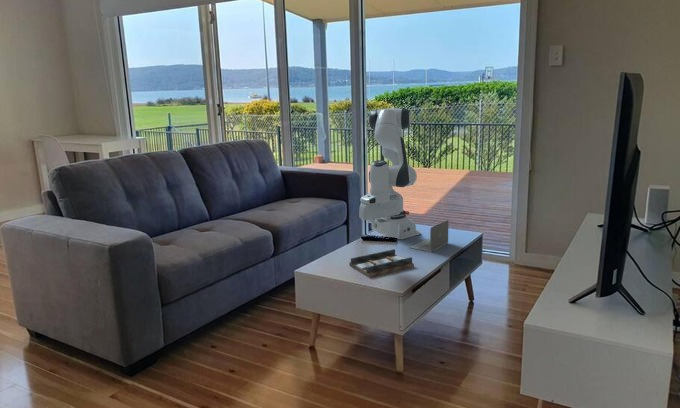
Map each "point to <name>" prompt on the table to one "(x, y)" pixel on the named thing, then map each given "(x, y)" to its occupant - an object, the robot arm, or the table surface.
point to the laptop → (434, 238)
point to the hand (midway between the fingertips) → (380, 226)
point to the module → (382, 226)
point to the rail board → (380, 263)
